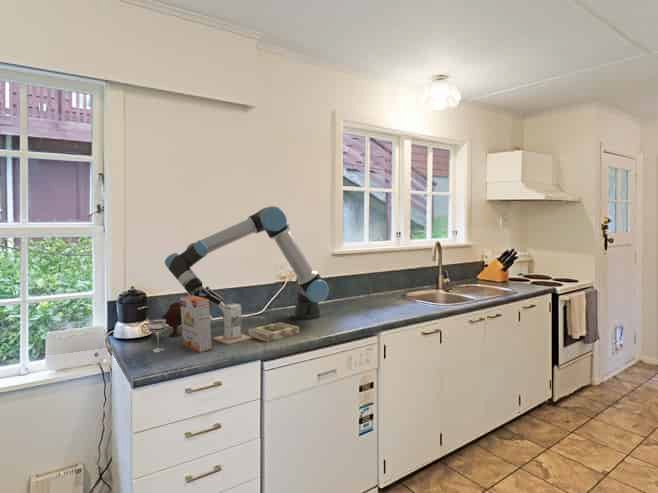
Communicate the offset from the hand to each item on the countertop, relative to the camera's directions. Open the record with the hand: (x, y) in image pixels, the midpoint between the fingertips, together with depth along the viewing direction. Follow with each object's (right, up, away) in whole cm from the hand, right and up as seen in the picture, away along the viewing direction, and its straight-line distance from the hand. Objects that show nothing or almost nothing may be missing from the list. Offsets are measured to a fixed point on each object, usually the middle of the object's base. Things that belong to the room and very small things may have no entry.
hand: (219, 317), depth 184 cm
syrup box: (+6, -9, -1) cm, 11 cm away
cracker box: (-6, -10, -13) cm, 18 cm away
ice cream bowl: (-22, -9, +6) cm, 25 cm away
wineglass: (-21, -11, -16) cm, 28 cm away
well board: (+23, -9, +6) cm, 26 cm away
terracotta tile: (+6, -9, -1) cm, 11 cm away
